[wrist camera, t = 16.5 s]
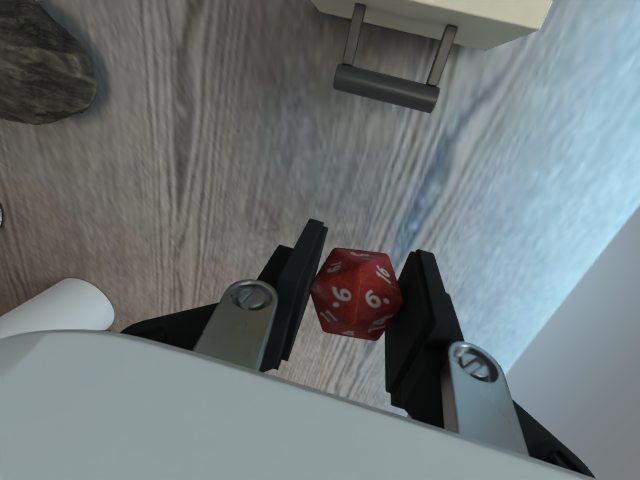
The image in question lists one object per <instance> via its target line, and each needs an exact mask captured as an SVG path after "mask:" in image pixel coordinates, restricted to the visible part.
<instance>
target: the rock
mask: <svg viewBox="0 0 640 480" xmlns="http://www.w3.org/2000/svg"><path fill="white" fill-rule="evenodd" d="M97 87H98V84H97V81H96V78H95V75H94V72H93V68H92V65H91V61H90V58H89V56H88V54H87V52H86V50H85V48H84V47H83V46H82V45H81V44H80V43H79V42H78V41H77V40H75V38H74V37H72V36H71V35H70V34H69V33H68V32H67V31H66V30H65V29H64V28H63V27H62V26H61V25H59V24H58V23H57V22H56V21H55V20H54V19H53V18H52V17H50V16H49V15H48V14H47V13H46V11H45V10H44V9H43V8H42V7H41V5H40V4H39V3H38V2H36V1H35V0H0V118H2V119H6V120H9V121H15V122H21V123H26V124H27V123H30V124H34V125H41V124H45V123H53V122H56V121H58V120H60V119H64V118H67V117H69V116H71V115H74V114H78V113H83V112H84V111H85V110H86V109H87V108H88V107H90V105H91V103H92V102H93V99H94V98H95V96H96V90H97Z"/></svg>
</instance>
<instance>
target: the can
mask: <svg viewBox="0 0 640 480" xmlns="http://www.w3.org/2000/svg"><path fill="white" fill-rule="evenodd" d="M2 219H3V213H2V210H1V207H0V224H1V222H2Z"/></svg>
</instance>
